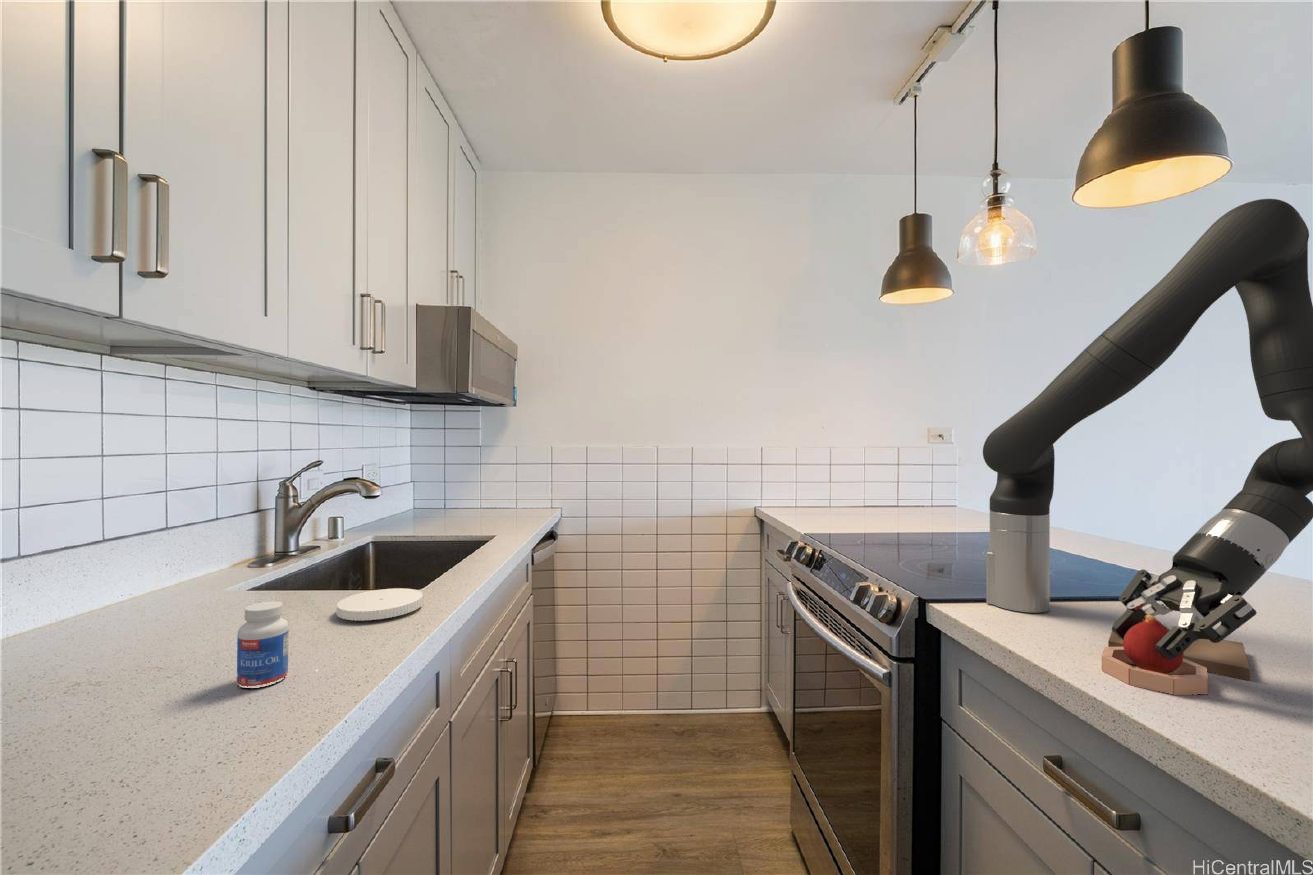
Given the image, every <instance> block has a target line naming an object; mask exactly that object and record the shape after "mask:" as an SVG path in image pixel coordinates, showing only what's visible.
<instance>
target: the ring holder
mask: <svg viewBox="0 0 1313 875" xmlns="http://www.w3.org/2000/svg"><path fill="white" fill-rule="evenodd" d="M1132 665H1135V664H1134V663H1133V662H1132V661H1131V660H1130V659H1129V658H1128V657H1127V655H1126V653H1125V651H1124V647H1108V646H1104V648H1103V651H1102V654H1101V671H1102V672H1104V673H1106V674H1107V675H1109V676H1112V677H1113V678H1115V679H1117V680H1119V681H1121V682H1122V683H1124V684H1127V685H1129V686H1133V687H1138V688H1142V689H1145V690H1150V691H1154V692H1158V691H1160V692H1159V693H1162V692H1165V693H1164V694H1166V693H1169V694H1168V695H1171V694H1174V695H1173V696H1198V695H1197V694H1208V695H1209V691H1208V690H1209V686H1208V685H1209V683H1208V682H1209V681H1208V680H1209V678H1208V672H1207V668H1206V667H1204V666H1201V665H1199V664H1196V663H1194V662H1192V661H1189V660H1187V659H1184V658H1183V661H1182V664H1181V665H1180V666H1179V668H1178V669H1176V670H1175V671H1173V672H1172V673H1173V674H1162V673H1158V672H1153V671H1149V670H1144V669H1140V668H1139V667H1134V666H1132ZM1178 674H1179V675H1178ZM1192 694H1193V695H1192Z"/></svg>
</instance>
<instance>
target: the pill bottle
mask: <svg viewBox="0 0 1313 875" xmlns="http://www.w3.org/2000/svg"><path fill="white" fill-rule="evenodd" d="M283 605H284V604H283V602H281V601H264V602H258V603H254V604H250V605H248V606H246V607H245V608H244V620H245V621H246V622H245V623H243V624H242V625H240V627H239V628H238V630H237V641H236V644H237V645H236V646H237V647H236V650H237V651H236V685H237V684H239V685H241V686H247V687H248V686H257V685H263V684H267V683H270V682H275V681H277V680H279V679H281V678H284V677H285V676H286V675H287V673H288V674H289V637H290V636H289V635H290V634H289V625H290V624H289V622H288V621H287V620H286V619H285V618H283V617H281V616H282V615H283V612H284V610H283V608H284V606H283ZM287 676H288V675H287Z"/></svg>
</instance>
